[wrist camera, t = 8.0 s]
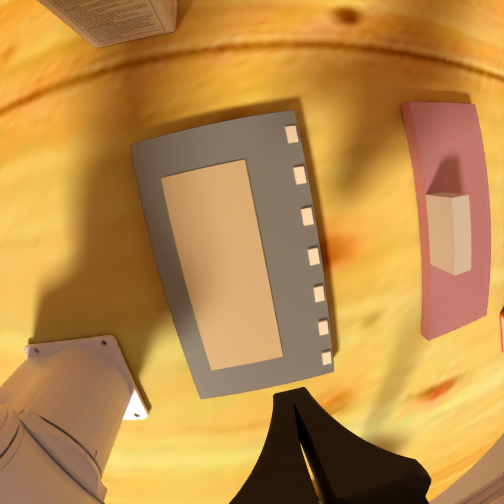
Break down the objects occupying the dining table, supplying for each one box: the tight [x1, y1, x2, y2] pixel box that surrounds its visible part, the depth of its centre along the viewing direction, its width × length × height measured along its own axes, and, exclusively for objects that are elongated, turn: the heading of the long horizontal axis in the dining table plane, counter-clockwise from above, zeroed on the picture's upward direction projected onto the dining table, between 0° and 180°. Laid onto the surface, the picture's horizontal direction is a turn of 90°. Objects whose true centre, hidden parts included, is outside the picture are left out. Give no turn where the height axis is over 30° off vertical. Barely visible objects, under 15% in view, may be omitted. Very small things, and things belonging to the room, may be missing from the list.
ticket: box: [130, 110, 334, 399], centre depth 20 cm, size 10×18×1 cm, turn 11°
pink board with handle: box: [401, 102, 491, 341], centre depth 19 cm, size 7×18×4 cm, turn 11°
